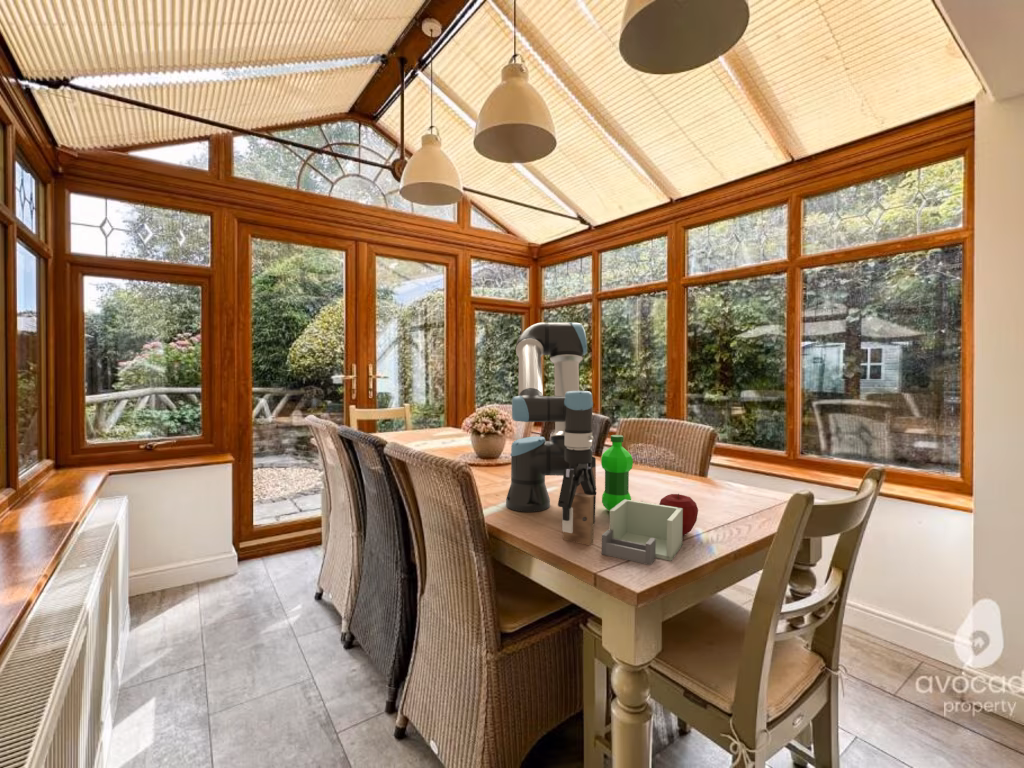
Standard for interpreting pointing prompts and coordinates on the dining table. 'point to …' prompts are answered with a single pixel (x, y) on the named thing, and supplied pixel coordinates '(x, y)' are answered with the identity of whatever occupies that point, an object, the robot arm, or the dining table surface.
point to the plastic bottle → (616, 473)
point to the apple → (688, 509)
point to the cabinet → (643, 532)
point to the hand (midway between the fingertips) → (578, 524)
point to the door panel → (581, 520)
